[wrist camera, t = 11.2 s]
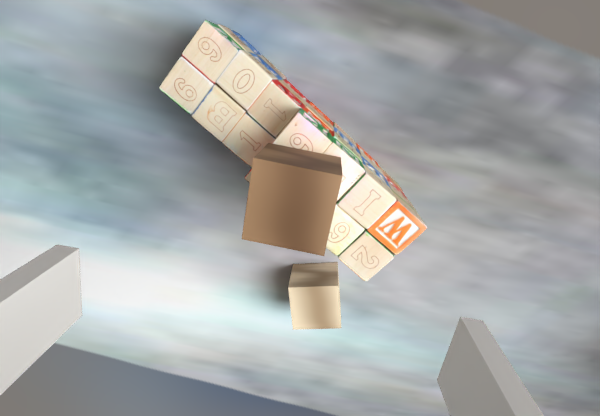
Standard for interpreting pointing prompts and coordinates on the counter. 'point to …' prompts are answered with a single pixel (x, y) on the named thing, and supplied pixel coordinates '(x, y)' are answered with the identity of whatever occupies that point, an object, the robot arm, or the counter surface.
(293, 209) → the walnut cube
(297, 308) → the maple cube
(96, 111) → the counter surface
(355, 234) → the stack of blocks
